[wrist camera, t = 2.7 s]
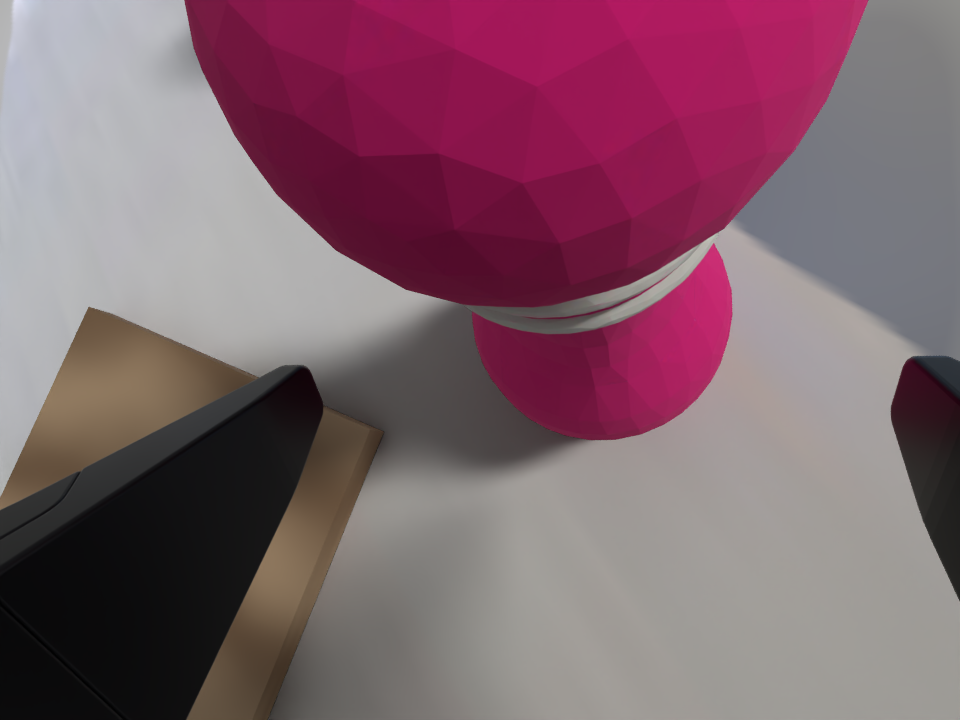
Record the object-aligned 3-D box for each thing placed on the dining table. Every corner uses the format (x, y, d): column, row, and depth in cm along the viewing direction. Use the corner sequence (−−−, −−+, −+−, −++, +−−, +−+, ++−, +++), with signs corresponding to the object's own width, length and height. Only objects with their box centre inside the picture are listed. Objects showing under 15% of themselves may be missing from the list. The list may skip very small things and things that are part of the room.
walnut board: (221, 833, 21) (196, 854, 20) (-34, 629, 26) (-65, 636, 25) (383, 431, 22) (370, 429, 21) (111, 313, 27) (88, 306, 26)
